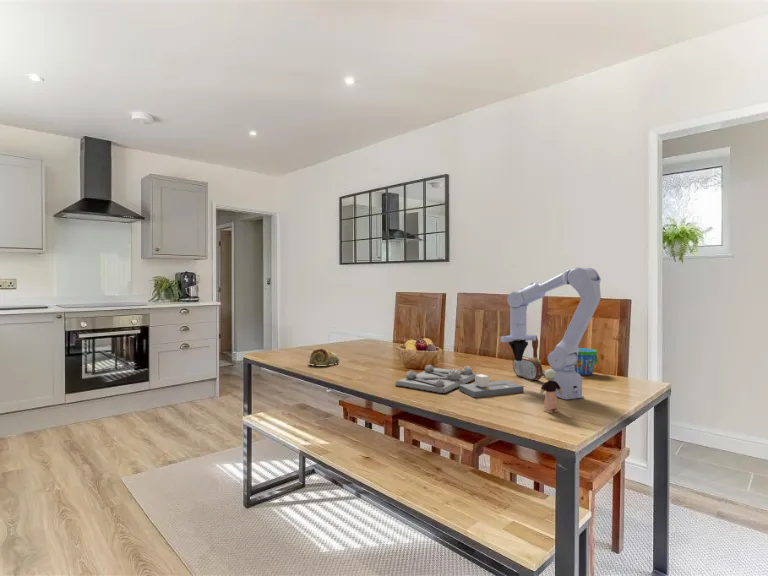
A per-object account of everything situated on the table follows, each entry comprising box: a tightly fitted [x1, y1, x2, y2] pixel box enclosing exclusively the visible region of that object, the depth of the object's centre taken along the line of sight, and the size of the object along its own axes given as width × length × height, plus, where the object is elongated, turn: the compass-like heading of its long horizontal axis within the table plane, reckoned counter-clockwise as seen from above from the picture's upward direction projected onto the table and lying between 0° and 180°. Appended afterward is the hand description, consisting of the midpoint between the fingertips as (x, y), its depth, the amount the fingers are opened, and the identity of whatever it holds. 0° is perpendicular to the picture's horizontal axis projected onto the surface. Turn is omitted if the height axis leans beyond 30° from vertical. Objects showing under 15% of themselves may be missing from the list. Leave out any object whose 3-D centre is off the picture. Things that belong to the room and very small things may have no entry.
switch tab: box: [474, 373, 490, 387], centre depth 149 cm, size 4×3×4 cm
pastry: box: [308, 348, 340, 365], centre depth 200 cm, size 14×12×8 cm
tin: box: [512, 355, 543, 381], centre depth 170 cm, size 15×3×8 cm, turn 22°
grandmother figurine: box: [539, 368, 562, 414], centre depth 127 cm, size 8×4×13 cm, turn 118°
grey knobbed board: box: [394, 364, 479, 394], centre depth 165 cm, size 30×22×7 cm
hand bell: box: [531, 335, 546, 375], centre depth 180 cm, size 8×8×16 cm
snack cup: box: [574, 347, 599, 376], centre depth 178 cm, size 16×10×10 cm
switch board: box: [458, 379, 525, 398], centre depth 150 cm, size 10×20×2 cm, turn 110°
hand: (518, 360), depth 158 cm, fingers closed
